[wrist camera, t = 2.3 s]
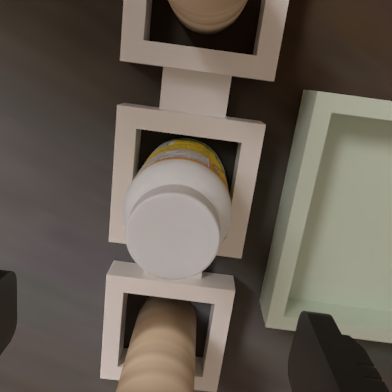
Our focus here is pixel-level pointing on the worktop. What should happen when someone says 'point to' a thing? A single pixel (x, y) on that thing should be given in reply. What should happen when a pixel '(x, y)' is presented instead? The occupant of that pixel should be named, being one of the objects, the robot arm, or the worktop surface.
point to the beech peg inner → (207, 14)
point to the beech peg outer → (161, 348)
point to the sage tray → (335, 219)
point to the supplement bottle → (177, 210)
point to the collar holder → (191, 126)
